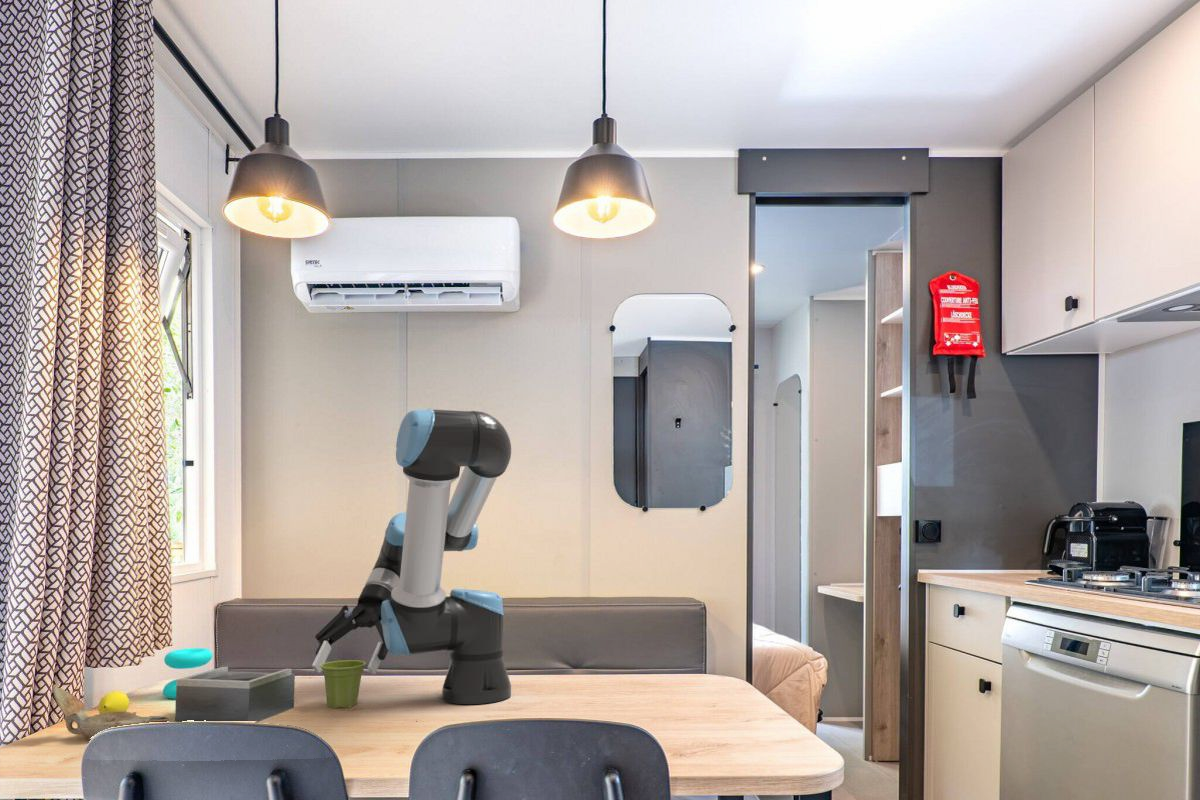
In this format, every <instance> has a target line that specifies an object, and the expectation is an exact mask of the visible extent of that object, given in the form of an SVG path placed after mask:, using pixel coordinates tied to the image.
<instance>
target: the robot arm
mask: <svg viewBox="0 0 1200 800" xmlns="http://www.w3.org/2000/svg"><path fill="white" fill-rule="evenodd" d="M401 420H402V421H401V424H400V425H399V429H398V432H397V436H396V444H395V447H396V449H395V460H396V462H397V463H396V464H397V465H399V467H402V473H403V475H404V477H406V478H407V479H408V480H409V482H408V490H407V491H408V493H407V501H406V512H399V513H397V514H395V515H393V517H391V519H390V520H389V522H388V525H387V527H386V528H385V533H384V538H383V542H382V544H381V548H380V550H379V554H378V557H377V560H376V562H375V564H374V566H373V568H372V570H371V572H370V573H369V576H368V577H367V580H366V582H365V585H364V587H363V588H362V590H361V592H360V594H359V596H358V599H357V603H356V606H355V607H353V608H351V607H348V605H343V606H342V607H341V609H340V611H339V613H337V615H335V616H334V617H333V618H332V619H331V620H330V621H329V622H328V623H327V624H326V625H325V626H324V627H323V628H322V629H321V630H320V631H318V632H317V633H316V634H315V639H316V641H317V643H319V645H318V646H317V649H316V651H315V655H316V656H315V658H314V661H312V662H313V663H312V664H311V668H313V670H314V671H315V672H316V674H320V673H321V671H322V668H321V667H320V666H321V664H324V663H326V661H327V658H328V656H329V655H330V653H331V650H332V646H331V645H333V644H334V643H337V641H338V640H340V639H341V638H342V637H344V636H345V635H347V634H348V633H349V632H352V630H353V631H355V630H357V629H358V628H370V629H371V628H373V627H375V628H376V629H377V632H378V634H379V636H380V639H381V641H382V642H381V641H378V642H377V645H376V647H375V649H374V651H373V654H372V656H371V659H370V660H369V663H368V665H367V669H368V672H370V674H371V676H375V675H376V673H377V671H378V669H379V666H380V664H381V661H384V660H385V659H386V657H387V654H388V652H389V653H390V654H391V655H393V656H405V655H406V656H411V655H417V654H418V655H419V654H428V653H439V652H440V653H441V652H449V651H450V662H449V665H448V670H447V673H446V676H445V678H444V682H443V685H442V688H441V689H442V690H441V692H442V695H441V699H442V700H443V701H444V702H446V703H450V704H457V705H480V704H481V705H482V704H488V703H489V704H490V703H496V702H500V701H504V700H506V699H509V698H510V697H511V696H512V684H511V681H510V676H509V674H508V672H507V671H508V670H507V667H506V665H505V662H504V615H505V613H504V606H503V599H502V596H501V595H500V594H499V593H496V592H492V591H488V590H487V591H485V590H476V589H467V588H453V589H451V591H450V592H449V596H447V593H446V590H444V589H443V588H442V586H441V580H442V570H443V559H444V552H464V551H469V550H474V549H475V548H476V547H477V545H478V539H479V527H478V524H477V520H478V518H479V517H480V514H481V512H482V510H483V507H484V506H485V503H486V502H487V500H488V497H489V495H490V493H491V491H492V489H493V487H494V485H495V482H496V481H497V478H499V477H501V476H502V475H503V474H505V472H506V470H507V468H508V466H509V464H510V461H511V457H512V444H511V439H510V436H509V434H508V432H507V429H506V428H505V427H504V425H503V424H502V423H501V422H500V421H499V420H498V419H497V418H495V417H494V416H493V415H490V414H489V413H486V412H484V411H478V410H469V411H468V410H449V409H432V408H428V409H413V410H409V411H408V412H407V413H406V414H405V415H404V417H403V419H401ZM461 467H464V468H463V470H462V473H461V474H460V472H461ZM458 479H459V480H458ZM457 480H458V482H457V485H456V486H455V490H454V492H453V494H452V497H451V487H452V483H454V481H457ZM450 497H451V499H450ZM353 620H354V622H353Z"/></svg>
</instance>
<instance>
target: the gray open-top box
mask: <svg viewBox="0 0 1200 800" xmlns="http://www.w3.org/2000/svg"><path fill="white" fill-rule="evenodd" d="M292 670H293V669H292V668H284V669H281V670H279V671H275V672H265V671H264V672H261V671H258V672H257V671H232V670H231V671H229V667H228V666H220V667H218V668H214V669H211V670H206V671H202V672H200V673H195V674H192V675H188V676H185V677H182V678H181V679H180V678H176V679H177V685H176V699H175V710H174V712H175V713H174V722H175V721H187V720H194V721H204V720H206V721H258V722H260V721H263V720H265V719H268V718H271V717H273V716H276V715H278V714H281V713H284V712H286V711H288V710H292V709H294V708H295V686H296V685H295V682H296V680H295V679H296V678H295V677H296V675H295V674H296V673H293V672H292ZM262 719H263V720H262Z"/></svg>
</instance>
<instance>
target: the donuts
mask: <svg viewBox="0 0 1200 800" xmlns="http://www.w3.org/2000/svg"><path fill="white" fill-rule="evenodd" d="M163 659H164V664H165V665H166V666H168V667H169V668H171V669H175V670H184V669H185V670H186V669H194V668H199V667H203V666H205V665H207V664H208V663H210V661H212V659H213V652H212V651H211V650H210V649H208V648H203V647H191V648H181V649H175V650H172V651H169V652H167V654H166V655H165V656H164V658H163ZM177 679H178V678H175V679H173V680H171V681H168V683H166V684H165V685H164V686H163V689H162V693H163V696H164V697H165V698H167V699H170V700H171V699H172V700H176V685H177ZM179 679H181V678H179Z"/></svg>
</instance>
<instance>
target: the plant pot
mask: <svg viewBox="0 0 1200 800" xmlns="http://www.w3.org/2000/svg"><path fill="white" fill-rule="evenodd" d="M366 664H367V662H366V661H364V660H357V659H353V660H352V659H349V660H348V659H347V660H345V659H344V660H336V661H328V662H325V663H324V664H321V666H320V667H321V668H322V669H321V671H322V675H323V676H324V677H323V678H324V686H325V695H326V705H327V707H328V708H332V709H337V708H340V707H341V708H343V709H344V708H345V707H347V708H350V706H351V707H354V706H356V705H357V703H358V701H359V692H360V688H361V681H362V675H363V673H364V668H365V666H366ZM345 709H346V708H345Z"/></svg>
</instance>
